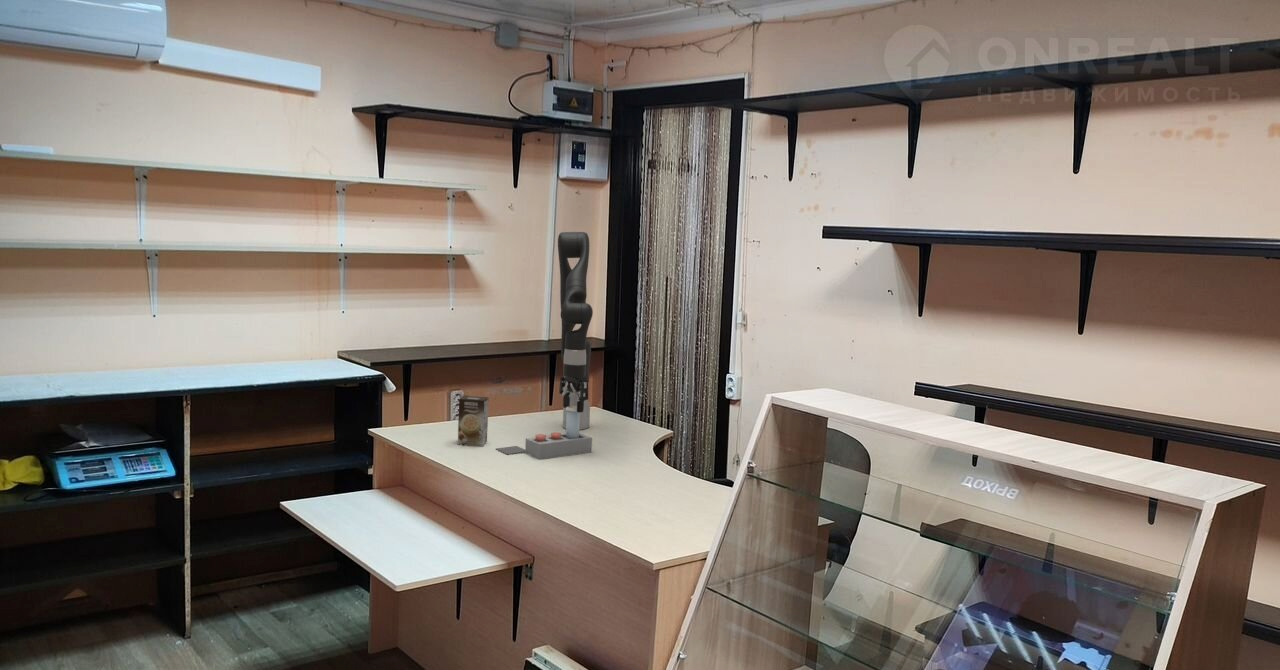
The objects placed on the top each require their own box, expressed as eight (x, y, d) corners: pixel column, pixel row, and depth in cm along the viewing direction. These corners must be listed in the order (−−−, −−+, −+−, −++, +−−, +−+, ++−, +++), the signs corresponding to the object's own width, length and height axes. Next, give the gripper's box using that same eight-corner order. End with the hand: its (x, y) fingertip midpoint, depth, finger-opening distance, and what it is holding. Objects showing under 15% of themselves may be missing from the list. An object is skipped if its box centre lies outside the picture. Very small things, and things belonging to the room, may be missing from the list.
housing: (576, 446, 320) (577, 432, 319) (591, 452, 313) (592, 437, 312) (525, 453, 308) (525, 438, 307) (539, 459, 301) (539, 444, 300)
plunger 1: (541, 449, 308) (542, 433, 308) (547, 452, 306) (547, 435, 305) (533, 451, 306) (533, 434, 305) (538, 453, 303) (538, 437, 303)
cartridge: (573, 448, 317) (575, 405, 315) (581, 451, 313) (583, 408, 311) (562, 450, 314) (563, 406, 312) (569, 453, 310) (571, 409, 308)
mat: (516, 446, 315) (516, 445, 315) (528, 452, 309) (528, 451, 309) (495, 449, 311) (495, 448, 310) (507, 455, 304) (507, 453, 304)
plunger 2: (557, 447, 312) (557, 432, 311) (562, 450, 309) (563, 434, 308) (548, 449, 310) (549, 433, 309) (553, 451, 307) (554, 435, 306)
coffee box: (456, 444, 315) (457, 398, 313) (462, 440, 321) (463, 395, 319) (483, 446, 314) (484, 400, 312) (488, 442, 320) (489, 396, 318)
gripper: (596, 364, 306) (594, 412, 308) (572, 358, 318) (571, 405, 320) (576, 366, 302) (575, 414, 304) (554, 359, 313) (552, 407, 315)
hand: (573, 409), depth 312 cm, fingers open, 8 cm apart
